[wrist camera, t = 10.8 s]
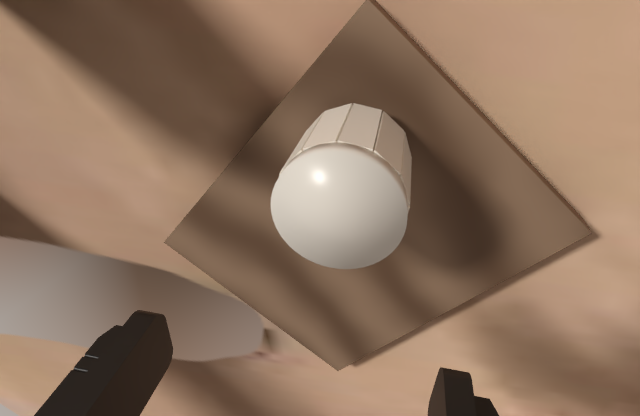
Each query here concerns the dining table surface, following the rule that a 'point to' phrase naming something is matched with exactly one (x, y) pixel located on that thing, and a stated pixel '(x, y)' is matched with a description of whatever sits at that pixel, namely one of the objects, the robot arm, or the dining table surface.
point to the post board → (423, 217)
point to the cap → (345, 189)
